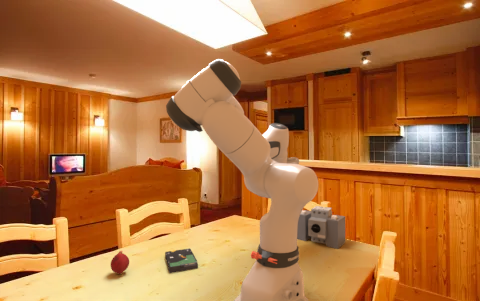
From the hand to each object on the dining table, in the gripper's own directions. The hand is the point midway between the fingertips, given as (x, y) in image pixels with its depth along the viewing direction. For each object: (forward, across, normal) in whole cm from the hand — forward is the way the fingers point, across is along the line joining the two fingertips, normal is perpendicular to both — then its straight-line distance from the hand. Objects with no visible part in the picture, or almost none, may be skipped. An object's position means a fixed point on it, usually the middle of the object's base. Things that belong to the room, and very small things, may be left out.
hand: (274, 185), depth 117 cm
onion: (+10, +64, +24) cm, 69 cm away
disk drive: (+15, +44, +21) cm, 51 cm away
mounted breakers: (+26, -19, +13) cm, 35 cm away
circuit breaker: (+25, -18, +15) cm, 34 cm away
